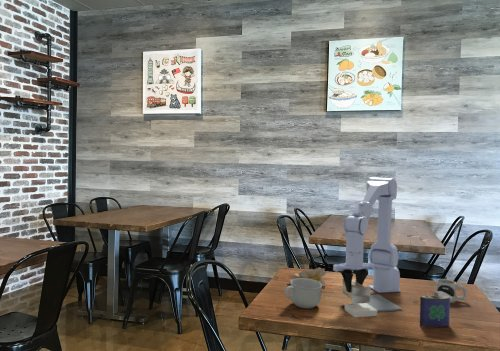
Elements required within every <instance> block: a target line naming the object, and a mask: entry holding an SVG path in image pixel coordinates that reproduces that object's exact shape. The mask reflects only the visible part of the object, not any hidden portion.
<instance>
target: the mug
mask: <svg viewBox="0 0 500 351" xmlns="http://www.w3.org/2000/svg"><path fill="white" fill-rule="evenodd" d="M457 289H458V290H459V289H461V290H462V291H463V294H462V296H459V295H457ZM435 291H438V295H439V296H448V297H450V304H453V303H456V301H461V300H462V301H465V300H466V298H467V294H468V293H467V288H466V286H463V285H459V284H457V282H456V281H454V280H451V279H445V278H440V279H436V283H435ZM439 293H440V294H439Z"/></svg>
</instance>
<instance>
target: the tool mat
mask: <svg viewBox="0 0 500 351" xmlns="http://www.w3.org/2000/svg"><path fill="white" fill-rule="evenodd" d="M367 304H369V305H370V306H372V307H373V308H375V309H376V310H377V313H383V312H396V311H403V308H402V307H400V306H399V305H397V304H395V303H394V302H392V301H390V300H388V299H386V298H385V297H383V296H382V295H380V294H370V303H367Z"/></svg>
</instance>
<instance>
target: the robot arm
mask: <svg viewBox="0 0 500 351" xmlns="http://www.w3.org/2000/svg"><path fill="white" fill-rule="evenodd" d="M365 188H366V192H365V196H364V197H363V200H362V201H359V202H358V203H357V204H356V206H355V208H354V210H353V211H352V213H351V215H348V216H346V217H345V219H344V222H343V231H344V237H345V239H346V244H345V245H346V246H345V262H344V263H343V262H342V263H337V264H336V263H335V264H333V265H332V266H333V268H332V270H333V271H334V272H336V273H337V272H340V275H341V276H342V280H343V279H344V282H345V286H346V291H347V292H351V283H352V279H353V276H354V273H355V281H356V282H358V283H359V284H361V285H363V284H364V281H365V280H366V278H367V277H368V275H369V271H368V270H371V271H372V272H373V276H372V277H373V278H372V285H371V284H370V285H368V286H367V287H370V289H372V290H373V291H375V292H376V293H379V294H380V293H394V292H395V293H397V292H401V290H400V285H401V284H400V283H401V282H400V280H401V276H400V275H401V273H400V270H399V268H398V264H399V253H398V252H399V250H398V247H397V246H396V245H395V244H393V243H392V242H391V235H392V234H391V232H392V209H393V200H396V199H397V196H398V195H397V194H398V183H397V180H396V179H395V178H393V177H374V176H373V177H372V176H370V177H369V178H368V179H367V180H366V186H365ZM377 201H378V214H377V216H378V217H377V236H376V237H377V238H376V242H374V243H372V244H371V245H370V250H369V254H368V260H369V262H364V248H365V247H364V245H365V244H364V243H365V242H364V240H365V234H366V232H367V230H368V225H369V219H370V217H371V216H372V214H373V212H374V208H373V206H374V204H375V203H376V202H377ZM352 271H354V273H352ZM363 286H364V285H363Z"/></svg>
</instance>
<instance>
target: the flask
mask: <svg viewBox="0 0 500 351" xmlns="http://www.w3.org/2000/svg"><path fill="white" fill-rule="evenodd" d="M439 294H440V293H439ZM419 300H420V302H419V303H420V304H419V326H420V327H421V326H422V327H421V328H426V327H433V329H435V328H439V327H440V328H448V326H449V327H450V314H451V303H450V297H448V296H439V295H438V291H436V290H434V293H433V294H432V295H431V294H428V295H427V294H425V295H421V296H420V298H419Z"/></svg>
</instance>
